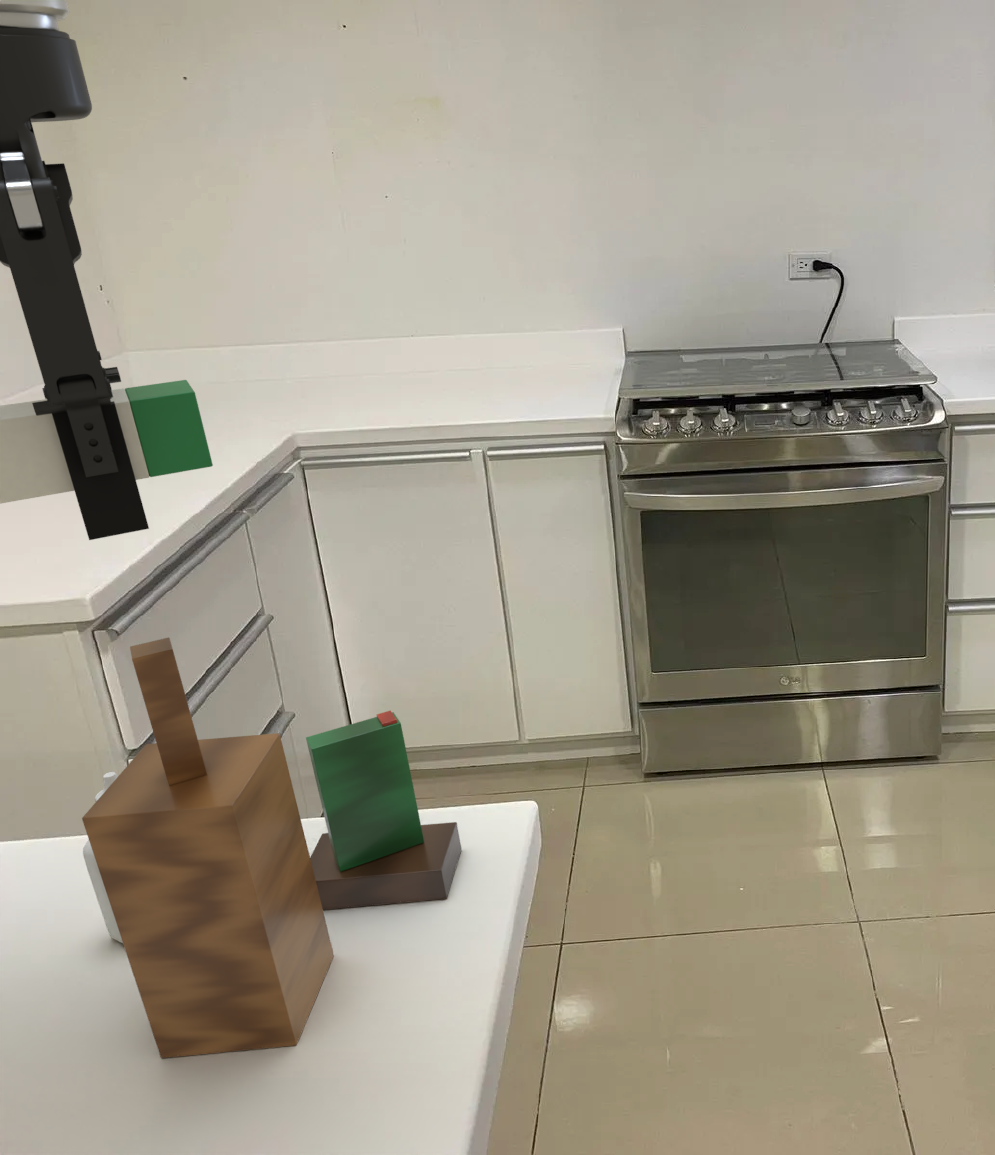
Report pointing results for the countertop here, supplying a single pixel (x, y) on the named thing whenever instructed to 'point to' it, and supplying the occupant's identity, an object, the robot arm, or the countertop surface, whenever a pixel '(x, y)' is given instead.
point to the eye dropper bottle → (96, 876)
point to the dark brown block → (390, 872)
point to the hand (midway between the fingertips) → (116, 519)
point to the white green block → (149, 424)
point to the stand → (210, 879)
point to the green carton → (366, 790)
